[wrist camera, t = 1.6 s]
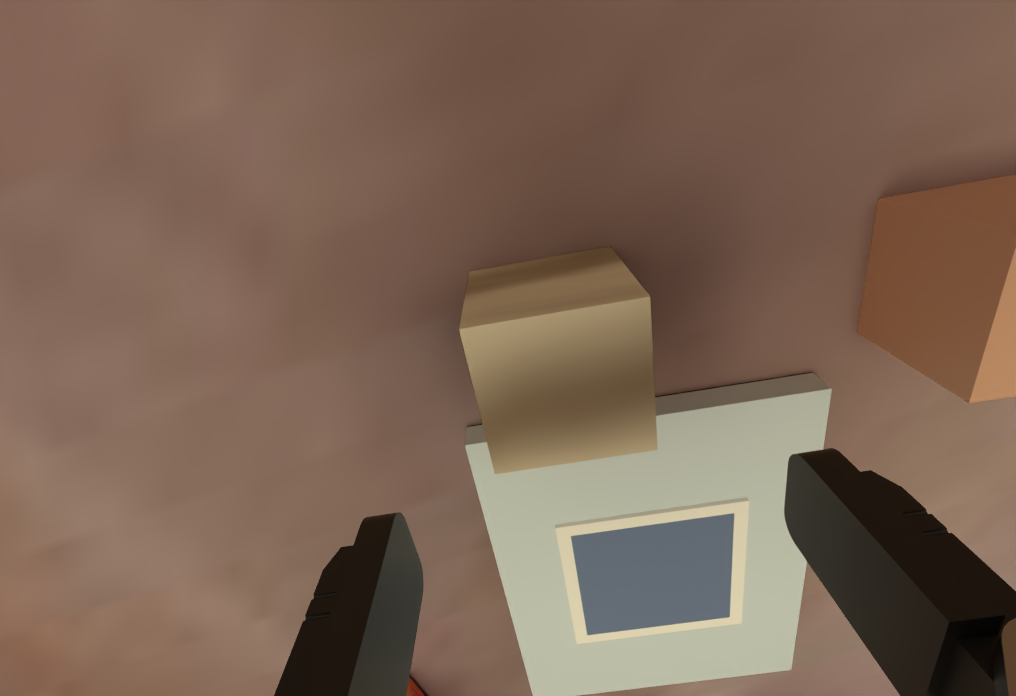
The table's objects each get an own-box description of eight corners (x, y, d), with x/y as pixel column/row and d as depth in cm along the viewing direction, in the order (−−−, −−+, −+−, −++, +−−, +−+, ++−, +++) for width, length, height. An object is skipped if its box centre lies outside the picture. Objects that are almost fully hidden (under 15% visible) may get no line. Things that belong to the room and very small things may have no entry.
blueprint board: (466, 427, 20) (464, 448, 19) (813, 372, 19) (835, 391, 18) (533, 677, 28) (534, 704, 27) (779, 647, 27) (792, 673, 26)
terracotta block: (876, 198, 16) (1019, 233, 12) (1033, 170, 16) (1240, 196, 12) (855, 330, 19) (968, 402, 14) (992, 308, 18) (1153, 375, 14)
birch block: (469, 270, 17) (459, 329, 13) (609, 245, 17) (649, 296, 12) (495, 389, 19) (494, 474, 15) (620, 369, 19) (657, 449, 15)
